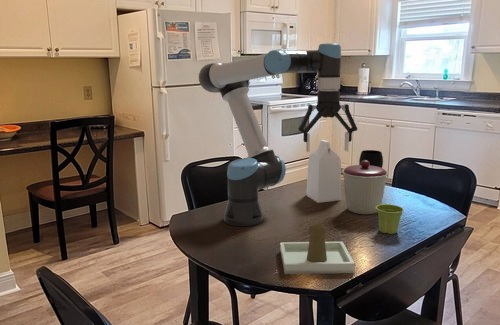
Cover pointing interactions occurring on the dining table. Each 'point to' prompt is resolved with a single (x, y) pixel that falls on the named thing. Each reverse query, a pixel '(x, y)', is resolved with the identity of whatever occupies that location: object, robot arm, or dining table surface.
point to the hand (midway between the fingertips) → (327, 151)
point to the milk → (324, 174)
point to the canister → (364, 187)
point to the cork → (317, 243)
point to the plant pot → (389, 217)
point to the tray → (298, 263)
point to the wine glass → (372, 157)
